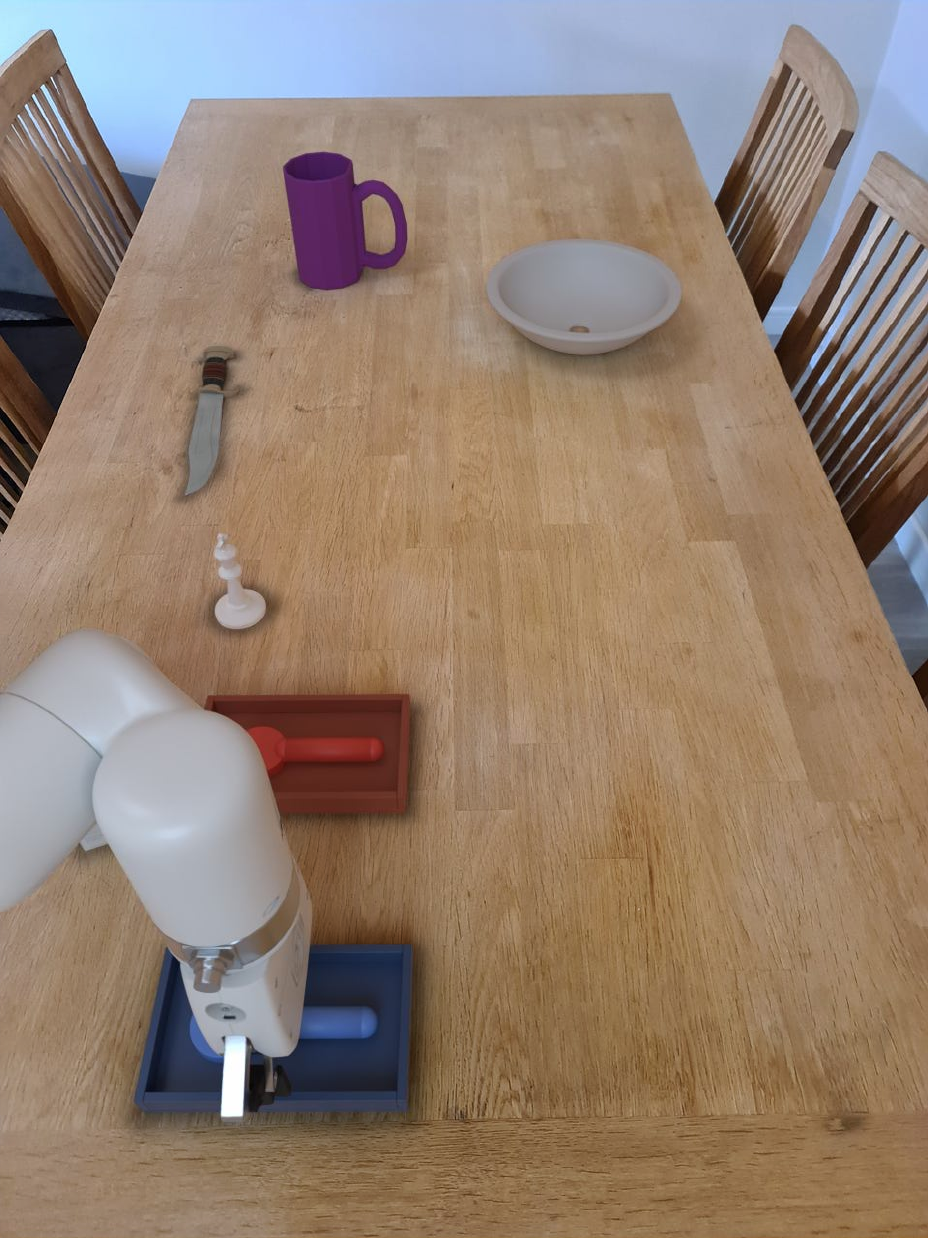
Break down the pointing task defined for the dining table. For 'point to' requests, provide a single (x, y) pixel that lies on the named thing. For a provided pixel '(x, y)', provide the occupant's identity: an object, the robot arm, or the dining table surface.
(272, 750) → the red spoon
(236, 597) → the chess piece
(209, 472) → the knife
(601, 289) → the white vessel sink
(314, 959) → the slate-blue tray
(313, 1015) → the blue spoon
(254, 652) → the dining table surface
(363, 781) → the terracotta tray
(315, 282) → the mug
